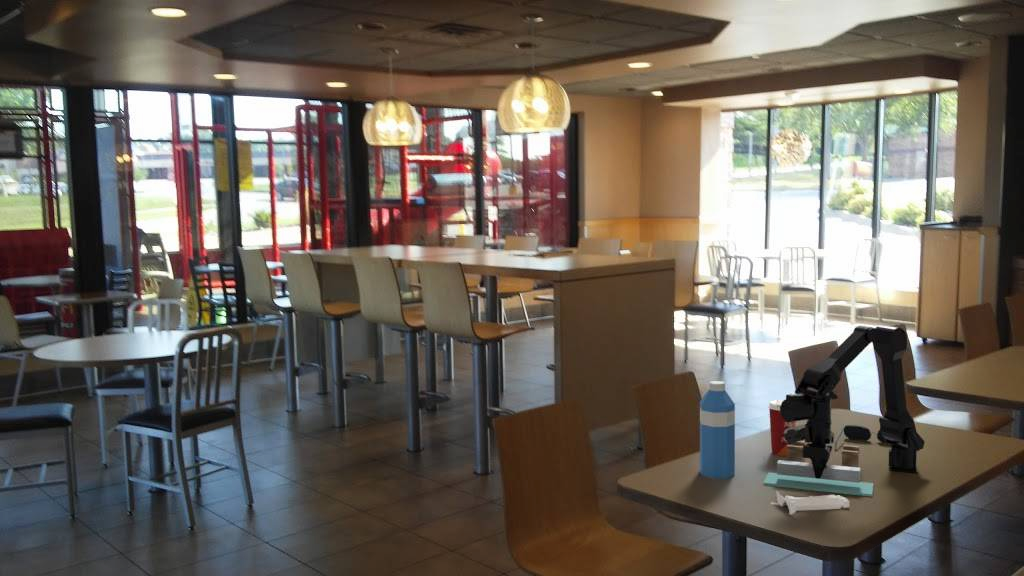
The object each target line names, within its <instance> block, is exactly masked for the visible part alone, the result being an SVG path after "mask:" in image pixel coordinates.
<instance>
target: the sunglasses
mask: <svg viewBox="0 0 1024 576" xmlns="http://www.w3.org/2000/svg"><path fill="white" fill-rule="evenodd" d="M842 434H844V436H845V437H846V439H850V440H857V441H869V440H870V439H871V438H872V434H873V432H871V430H870V429H869V428H868V427H866V426H860V425H855V424H853V425H852V424H847V425H844V427H842V430H841V432H840V433H839V435H838V436H837V439H836V441H834V444H835V446H834V450H835V451H837V444H838V441H839V439H841V438H840V437H841V436H842ZM874 434H875V435H876V439H877V440H878V441H879V442H880V443H882V444H883V443H884V444H886V443H885V440H884V437H883V435H882V432H880V429H879V430H878V431H877V433H876V432H874Z"/></svg>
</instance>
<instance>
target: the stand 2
mask: <svg viewBox="0 0 1024 576" xmlns="http://www.w3.org/2000/svg"><path fill="white" fill-rule="evenodd" d="M841 466H847V467H857V468H860V446H857V445H849V444H848V445H846V444H843V447H842V449H841Z"/></svg>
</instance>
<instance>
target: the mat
mask: <svg viewBox="0 0 1024 576" xmlns="http://www.w3.org/2000/svg"><path fill="white" fill-rule="evenodd" d="M763 485H764V486H770V487H771V486H772V487H780V488H789V489H797V490H798V489H799V490H806V491H807V490H808V491H815V492H825V493H835V494H843V495H852V496H863V497H873V492H874V483H873V482H865V481H860V483H856V482H846V481H836V480H826V479H816V478H807V477H797V476H787V475H777V472H768V473H767V475H766V477H765V479H764V481H763Z"/></svg>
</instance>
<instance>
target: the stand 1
mask: <svg viewBox="0 0 1024 576" xmlns="http://www.w3.org/2000/svg"><path fill="white" fill-rule="evenodd" d="M805 445H806V442H805V440H802V441H798V442H794V443H793V444H789V445H787V456H786V461H794V462H805V463H806V458H804V457H803V448H804V446H805Z"/></svg>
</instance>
